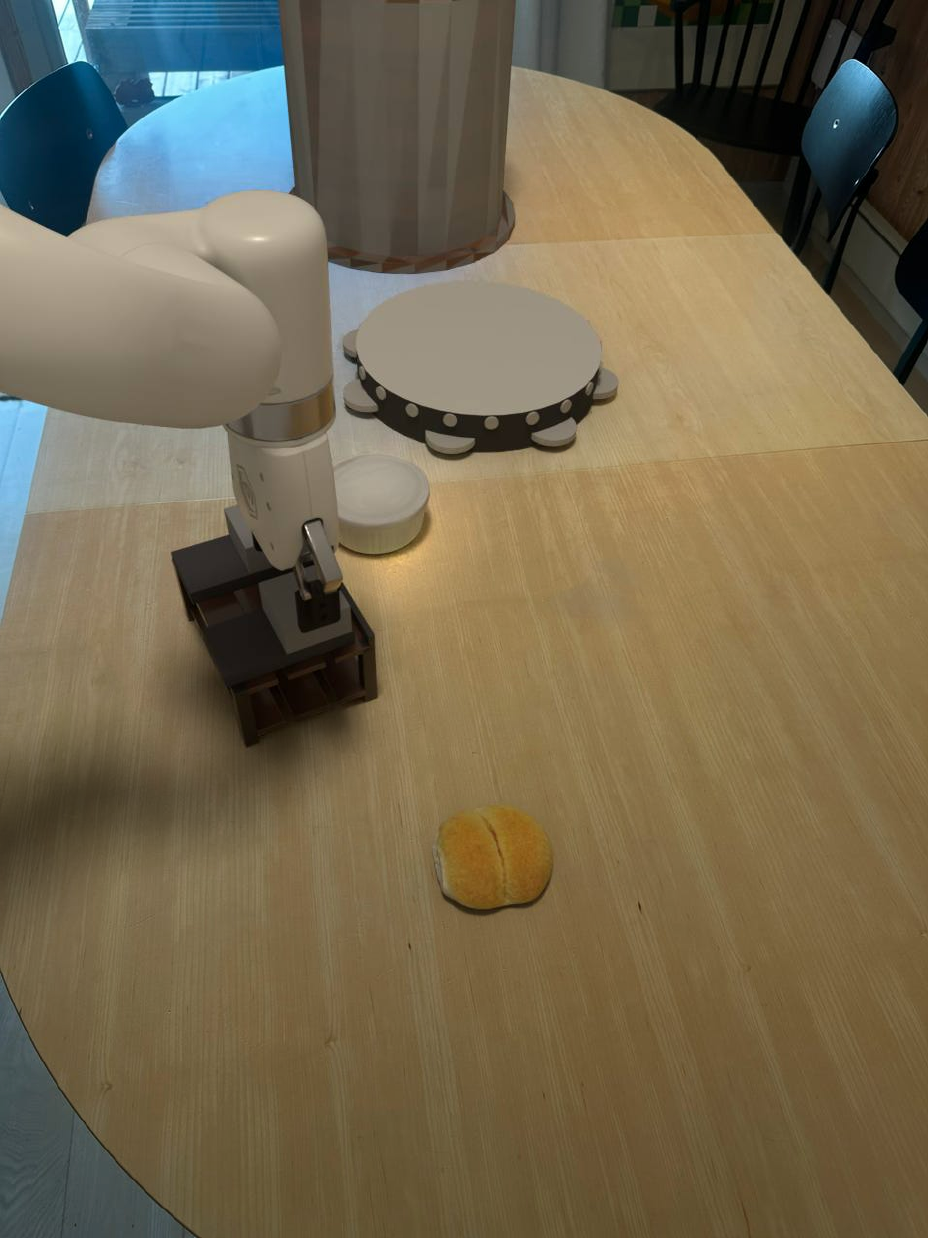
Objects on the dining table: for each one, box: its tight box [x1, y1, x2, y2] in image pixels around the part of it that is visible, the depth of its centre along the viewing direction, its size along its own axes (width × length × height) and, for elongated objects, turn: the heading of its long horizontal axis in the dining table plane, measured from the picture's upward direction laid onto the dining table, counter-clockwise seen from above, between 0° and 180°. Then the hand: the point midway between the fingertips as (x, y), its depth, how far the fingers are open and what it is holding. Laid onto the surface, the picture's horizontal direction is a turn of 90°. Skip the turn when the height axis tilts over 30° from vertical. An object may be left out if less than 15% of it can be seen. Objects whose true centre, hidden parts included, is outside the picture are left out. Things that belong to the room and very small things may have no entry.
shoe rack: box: [171, 558, 379, 748], centre depth 84 cm, size 12×17×8 cm
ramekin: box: [332, 452, 431, 555], centre depth 98 cm, size 11×11×5 cm
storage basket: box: [277, 0, 517, 274], centre depth 135 cm, size 35×35×32 cm
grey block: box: [170, 504, 315, 605], centre depth 83 cm, size 11×6×4 cm, turn 118°
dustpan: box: [201, 565, 355, 689], centre depth 78 cm, size 11×6×4 cm, turn 118°
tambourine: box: [342, 280, 619, 455], centre depth 116 cm, size 34×33×5 cm
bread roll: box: [432, 803, 554, 910], centre depth 73 cm, size 8×9×4 cm
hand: (296, 583), depth 75 cm, fingers open, 9 cm apart
